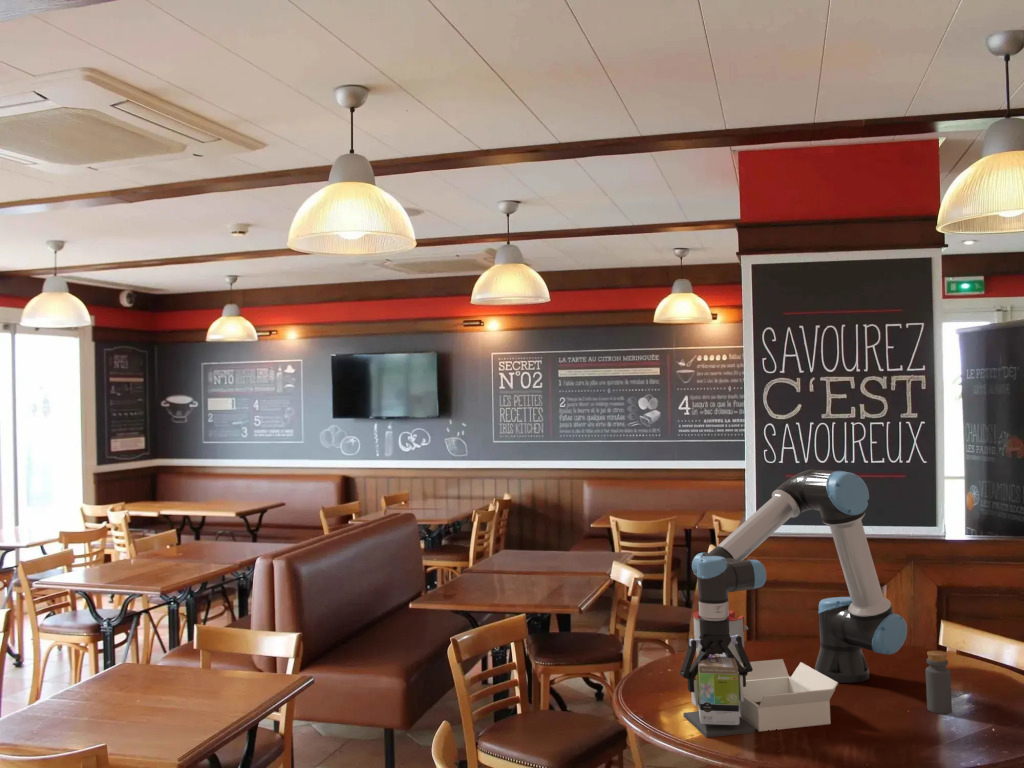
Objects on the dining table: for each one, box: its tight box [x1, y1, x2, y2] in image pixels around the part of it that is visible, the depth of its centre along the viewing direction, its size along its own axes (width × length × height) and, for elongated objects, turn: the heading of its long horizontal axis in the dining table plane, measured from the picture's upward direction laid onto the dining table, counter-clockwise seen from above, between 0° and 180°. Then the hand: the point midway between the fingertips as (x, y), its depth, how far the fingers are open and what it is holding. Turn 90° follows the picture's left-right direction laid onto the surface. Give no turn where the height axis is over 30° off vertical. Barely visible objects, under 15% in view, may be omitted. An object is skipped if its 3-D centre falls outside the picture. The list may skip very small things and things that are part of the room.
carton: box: [738, 658, 839, 732], centre depth 225 cm, size 23×27×10 cm
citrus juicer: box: [692, 609, 749, 663], centre depth 265 cm, size 16×17×20 cm
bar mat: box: [683, 710, 756, 738], centre depth 219 cm, size 13×15×1 cm
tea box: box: [695, 650, 740, 725], centre depth 219 cm, size 15×10×15 cm
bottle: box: [925, 650, 953, 715], centre depth 224 cm, size 6×6×15 cm
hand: (717, 702), depth 219 cm, fingers closed on tea box, 12 cm apart
